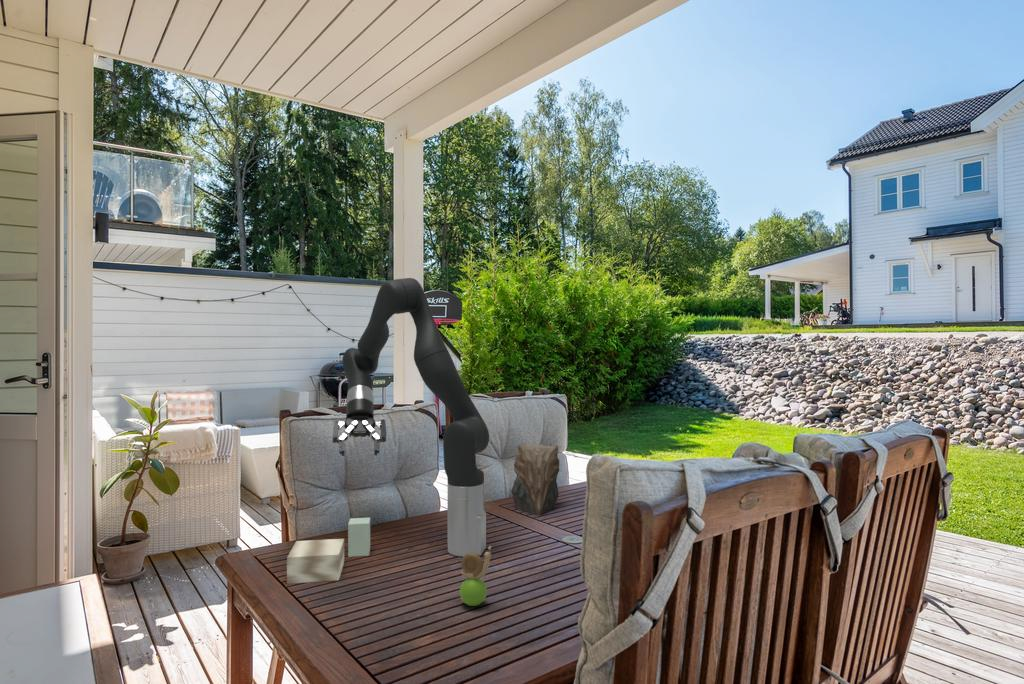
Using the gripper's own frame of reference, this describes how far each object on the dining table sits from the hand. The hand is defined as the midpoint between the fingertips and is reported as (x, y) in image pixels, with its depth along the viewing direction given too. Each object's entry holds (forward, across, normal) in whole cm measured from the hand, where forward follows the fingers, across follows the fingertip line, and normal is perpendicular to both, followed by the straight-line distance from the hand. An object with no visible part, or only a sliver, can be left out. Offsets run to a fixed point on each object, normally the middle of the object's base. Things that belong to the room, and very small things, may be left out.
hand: (359, 454), depth 161 cm
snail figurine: (+48, +23, -20) cm, 57 cm away
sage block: (+24, 0, +8) cm, 25 cm away
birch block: (+32, -9, 0) cm, 33 cm away
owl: (+6, +54, +26) cm, 61 cm away
